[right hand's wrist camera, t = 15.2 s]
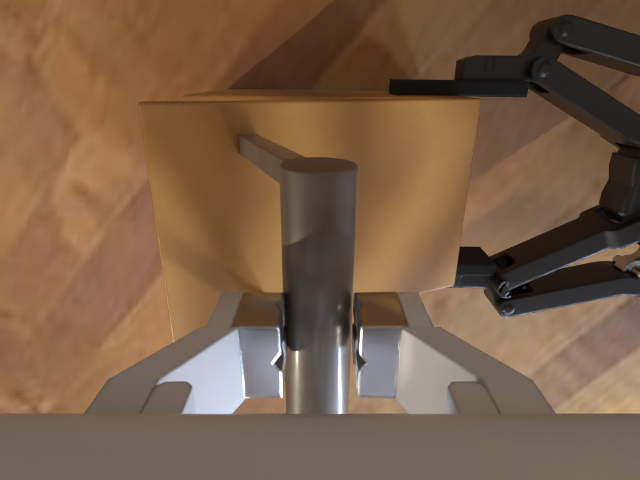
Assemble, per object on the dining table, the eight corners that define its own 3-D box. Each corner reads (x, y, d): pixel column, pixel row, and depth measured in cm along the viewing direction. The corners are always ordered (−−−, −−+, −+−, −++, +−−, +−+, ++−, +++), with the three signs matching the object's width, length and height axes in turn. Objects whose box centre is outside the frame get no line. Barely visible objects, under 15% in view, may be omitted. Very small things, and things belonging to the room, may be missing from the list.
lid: (172, 335, 17) (199, 521, 10) (137, 101, 14) (142, 128, 7) (443, 279, 22) (590, 375, 15) (467, 97, 19) (672, 110, 12)
